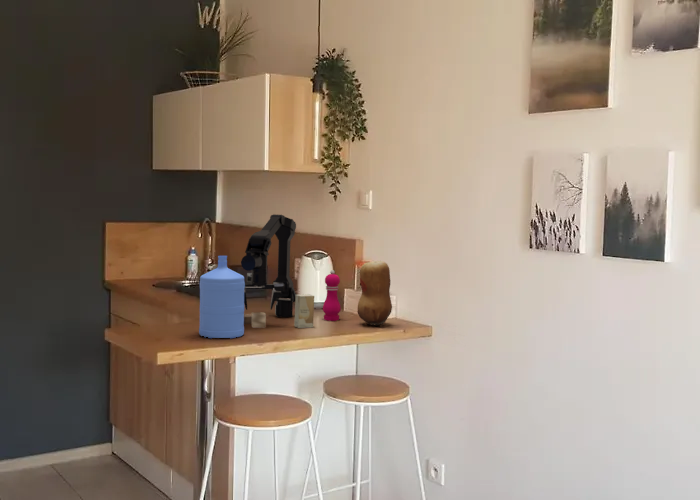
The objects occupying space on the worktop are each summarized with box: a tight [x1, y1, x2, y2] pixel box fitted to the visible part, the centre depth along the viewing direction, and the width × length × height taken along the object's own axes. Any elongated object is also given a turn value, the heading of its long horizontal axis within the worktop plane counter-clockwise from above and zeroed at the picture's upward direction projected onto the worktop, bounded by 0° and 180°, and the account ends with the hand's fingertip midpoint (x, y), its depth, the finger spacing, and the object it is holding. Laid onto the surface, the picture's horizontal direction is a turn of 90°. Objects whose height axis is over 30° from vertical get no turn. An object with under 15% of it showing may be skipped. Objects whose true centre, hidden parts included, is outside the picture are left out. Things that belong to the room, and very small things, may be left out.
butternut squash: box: [356, 260, 393, 326], centre depth 304 cm, size 14×13×25 cm
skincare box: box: [293, 293, 315, 329], centre depth 297 cm, size 6×4×12 cm
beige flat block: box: [244, 313, 252, 325], centre depth 304 cm, size 7×7×3 cm
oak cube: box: [251, 311, 267, 329], centre depth 296 cm, size 5×5×5 cm
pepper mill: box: [322, 269, 342, 322], centre depth 314 cm, size 7×7×20 cm
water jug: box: [198, 255, 246, 339], centre depth 276 cm, size 16×16×28 cm
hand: (258, 309), depth 296 cm, fingers open, 9 cm apart
